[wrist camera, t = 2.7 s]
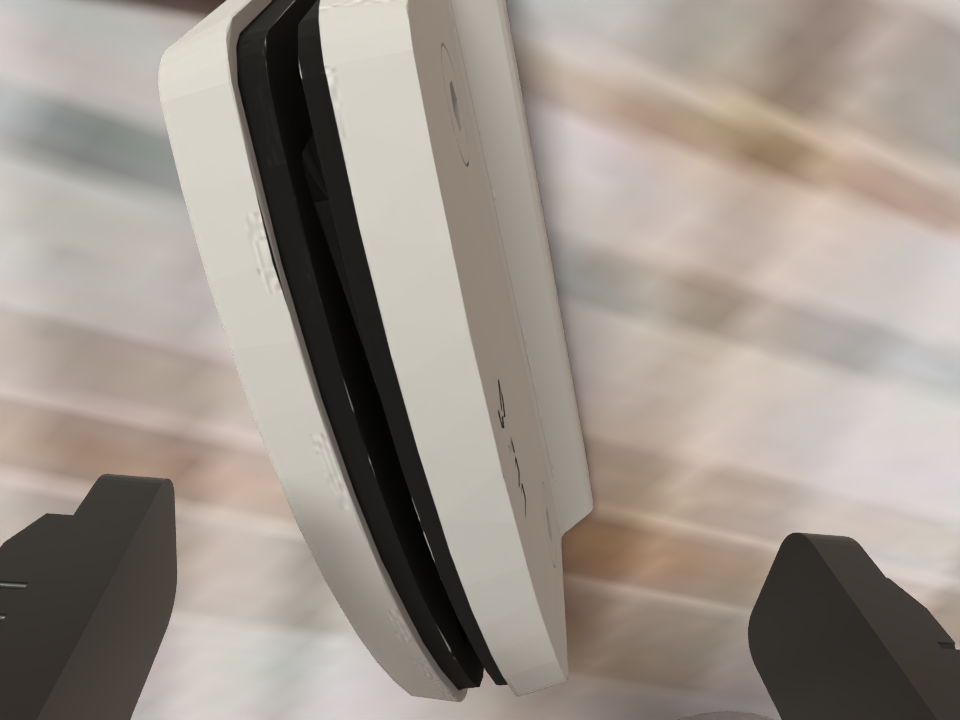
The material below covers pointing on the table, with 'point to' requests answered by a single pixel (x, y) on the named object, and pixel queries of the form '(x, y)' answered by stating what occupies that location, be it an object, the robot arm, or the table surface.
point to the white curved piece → (393, 316)
